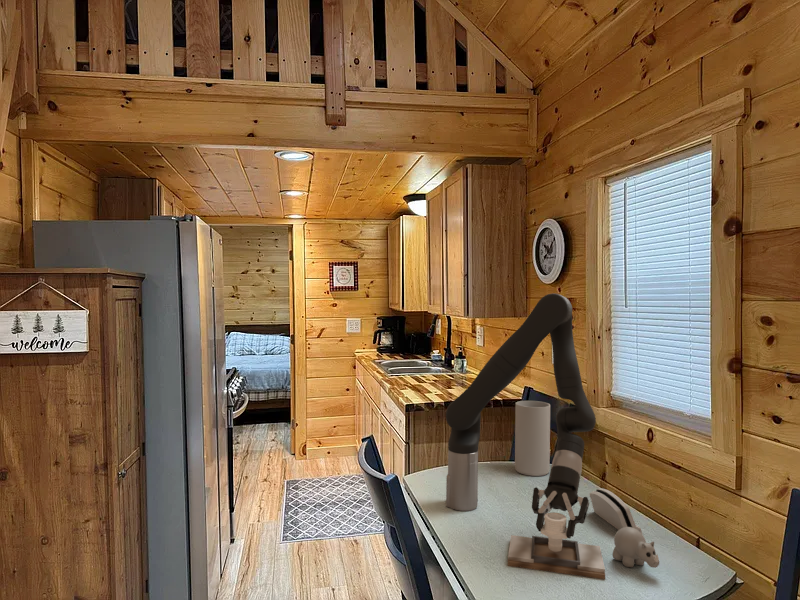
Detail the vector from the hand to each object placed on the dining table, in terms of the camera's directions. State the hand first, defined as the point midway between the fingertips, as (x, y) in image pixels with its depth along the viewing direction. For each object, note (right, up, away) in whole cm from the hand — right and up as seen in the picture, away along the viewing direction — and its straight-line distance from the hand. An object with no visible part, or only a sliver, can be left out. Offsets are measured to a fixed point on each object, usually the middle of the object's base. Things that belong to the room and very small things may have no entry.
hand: (553, 533), depth 131 cm
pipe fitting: (+1, -5, +2) cm, 5 cm away
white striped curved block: (+23, -7, +23) cm, 33 cm away
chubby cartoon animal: (+19, -7, -3) cm, 21 cm away
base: (+1, -7, +1) cm, 7 cm away
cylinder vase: (+11, -7, +68) cm, 69 cm away
